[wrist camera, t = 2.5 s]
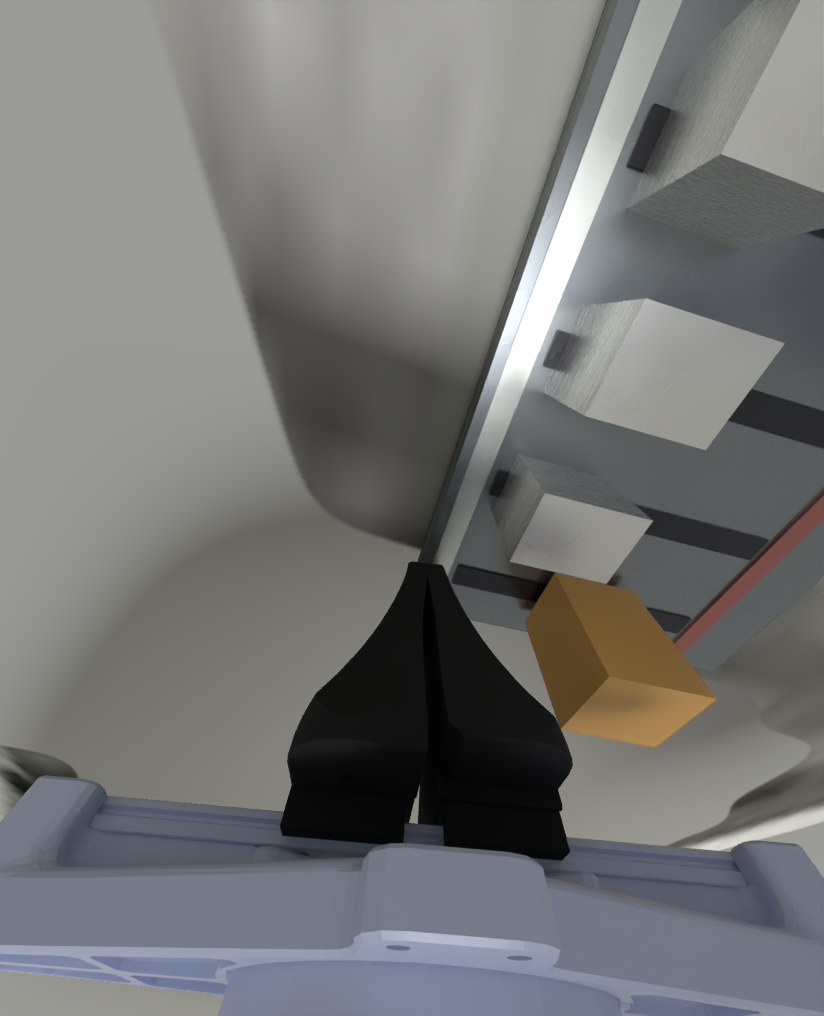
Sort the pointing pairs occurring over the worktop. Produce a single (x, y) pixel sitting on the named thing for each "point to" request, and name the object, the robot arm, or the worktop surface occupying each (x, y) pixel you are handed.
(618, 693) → the toggle
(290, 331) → the worktop surface
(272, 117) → the worktop surface
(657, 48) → the breaker panel
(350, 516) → the worktop surface
